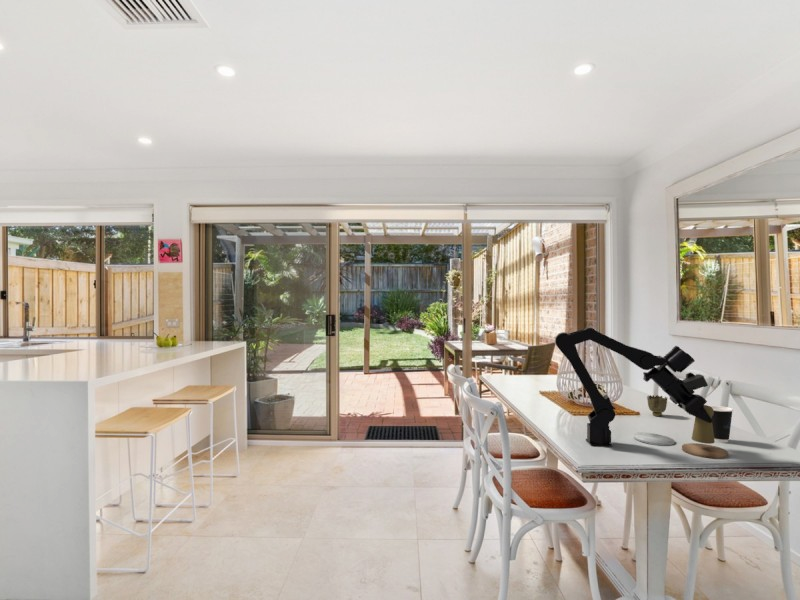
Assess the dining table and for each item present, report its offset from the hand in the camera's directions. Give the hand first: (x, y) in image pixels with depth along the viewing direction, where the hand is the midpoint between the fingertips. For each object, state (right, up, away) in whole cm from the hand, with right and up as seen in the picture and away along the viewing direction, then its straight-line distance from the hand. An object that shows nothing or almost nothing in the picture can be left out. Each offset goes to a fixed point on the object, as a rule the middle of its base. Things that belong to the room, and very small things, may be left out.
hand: (708, 420), depth 142 cm
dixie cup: (+12, -10, +13) cm, 21 cm away
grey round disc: (-10, -10, +13) cm, 19 cm away
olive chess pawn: (-1, -7, +1) cm, 7 cm away
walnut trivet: (-1, -10, 0) cm, 10 cm away
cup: (+11, -11, +48) cm, 51 cm away
